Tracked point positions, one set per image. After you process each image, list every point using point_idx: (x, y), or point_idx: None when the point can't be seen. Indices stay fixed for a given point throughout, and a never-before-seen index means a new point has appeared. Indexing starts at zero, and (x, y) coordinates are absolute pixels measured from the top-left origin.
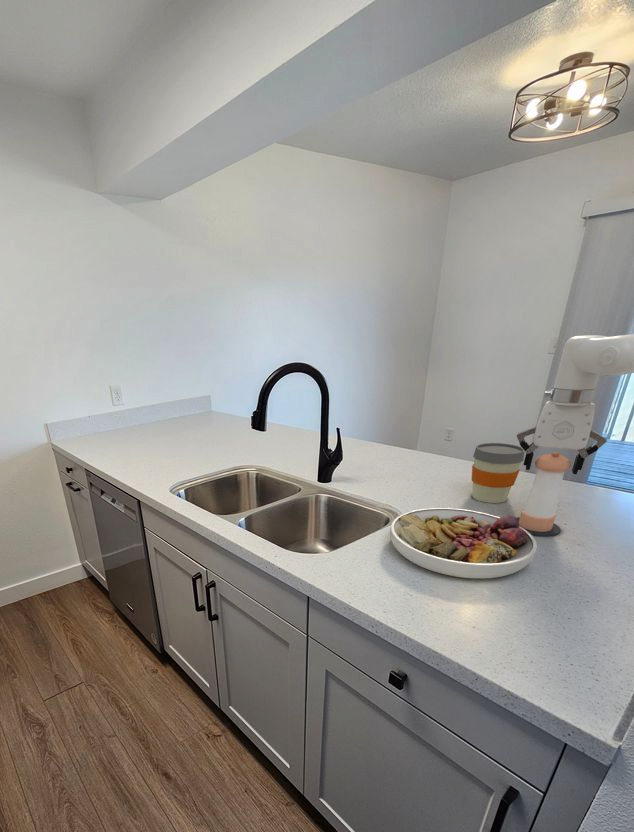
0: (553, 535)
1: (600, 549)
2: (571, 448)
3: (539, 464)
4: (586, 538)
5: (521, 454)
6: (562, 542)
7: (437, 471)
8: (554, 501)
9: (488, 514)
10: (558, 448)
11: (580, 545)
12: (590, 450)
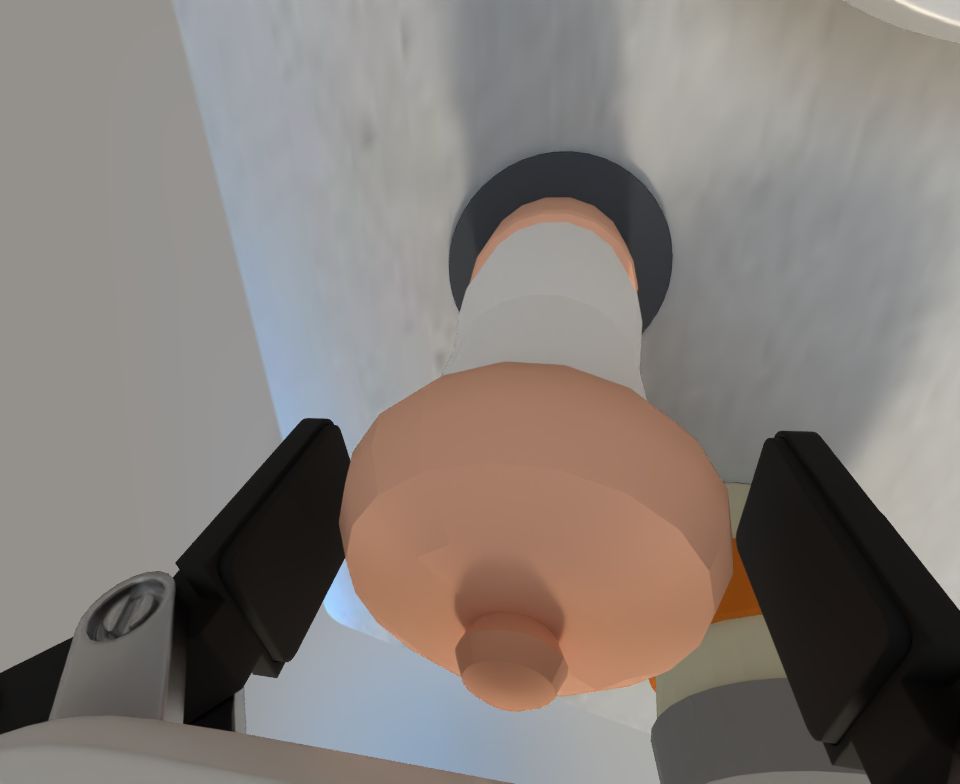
0: (472, 200)
1: (286, 126)
2: (162, 749)
3: (703, 459)
4: (352, 237)
5: (693, 766)
6: (430, 126)
7: None
8: (478, 281)
9: (954, 9)
10: (464, 775)
11: (359, 130)
12: (22, 703)
